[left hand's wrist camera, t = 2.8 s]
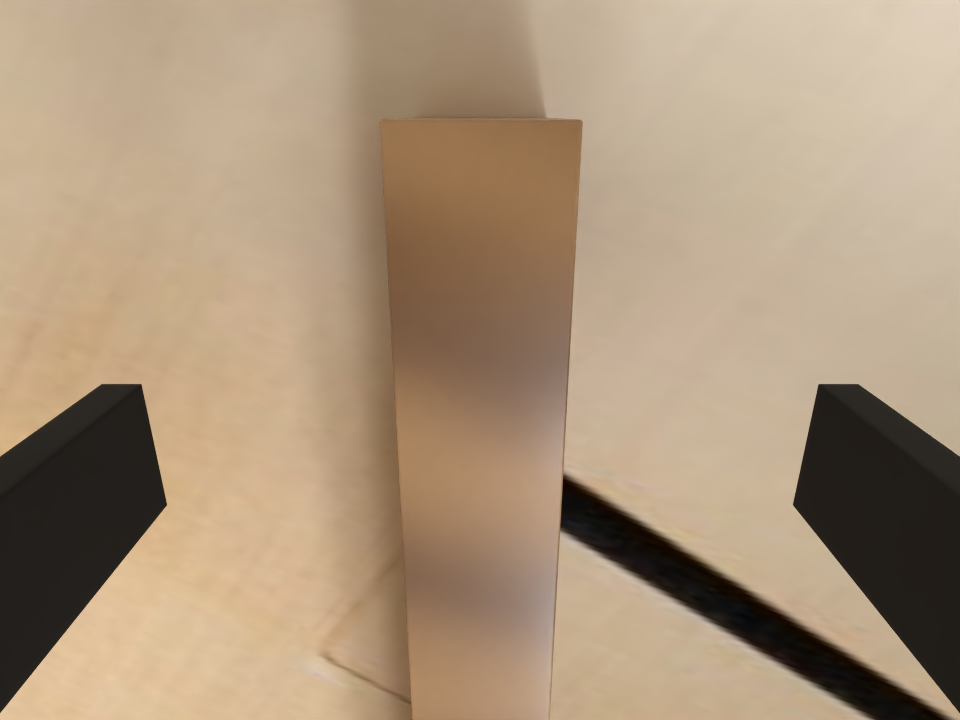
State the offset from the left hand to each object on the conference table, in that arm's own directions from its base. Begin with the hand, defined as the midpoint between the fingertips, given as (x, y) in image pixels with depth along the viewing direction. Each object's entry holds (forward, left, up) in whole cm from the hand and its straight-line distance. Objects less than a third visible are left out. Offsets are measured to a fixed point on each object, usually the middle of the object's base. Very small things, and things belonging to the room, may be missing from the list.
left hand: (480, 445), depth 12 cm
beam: (+10, +32, -13) cm, 36 cm away
